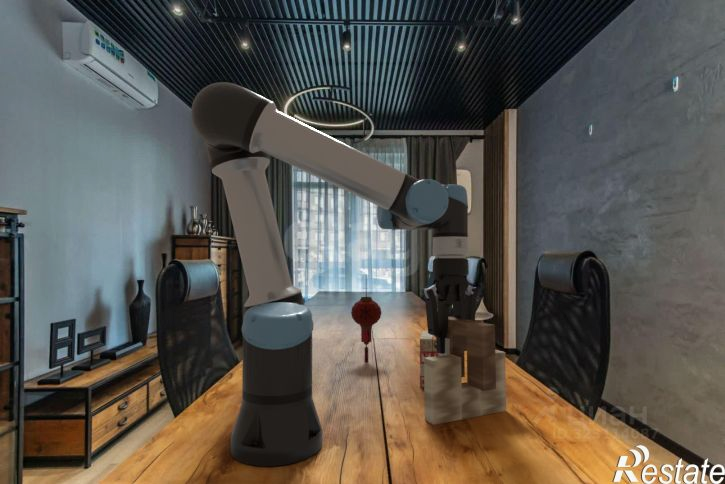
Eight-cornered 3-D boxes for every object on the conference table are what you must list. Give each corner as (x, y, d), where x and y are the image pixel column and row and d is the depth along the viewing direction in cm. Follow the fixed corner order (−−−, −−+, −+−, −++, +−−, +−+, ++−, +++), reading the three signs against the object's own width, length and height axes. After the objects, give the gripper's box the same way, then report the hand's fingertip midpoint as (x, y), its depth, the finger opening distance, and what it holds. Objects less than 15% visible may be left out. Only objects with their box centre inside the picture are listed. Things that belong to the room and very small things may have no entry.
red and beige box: (424, 367, 125) (423, 325, 126) (445, 368, 124) (445, 325, 125) (420, 388, 104) (419, 337, 105) (445, 389, 103) (445, 338, 104)
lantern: (352, 358, 137) (351, 264, 138) (381, 358, 136) (381, 264, 138) (350, 365, 127) (349, 265, 129) (381, 365, 127) (381, 264, 128)
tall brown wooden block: (483, 391, 79) (482, 326, 80) (439, 373, 92) (439, 317, 92) (496, 388, 80) (494, 325, 81) (451, 371, 93) (450, 316, 94)
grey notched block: (433, 424, 81) (432, 360, 81) (424, 419, 83) (424, 357, 84) (506, 410, 88) (505, 352, 89) (496, 406, 91) (495, 349, 91)
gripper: (428, 257, 85) (430, 376, 84) (491, 257, 91) (493, 367, 90) (409, 257, 92) (410, 368, 90) (469, 257, 98) (470, 360, 97)
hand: (451, 367), depth 90 cm, fingers closed on tall brown wooden block, 3 cm apart
